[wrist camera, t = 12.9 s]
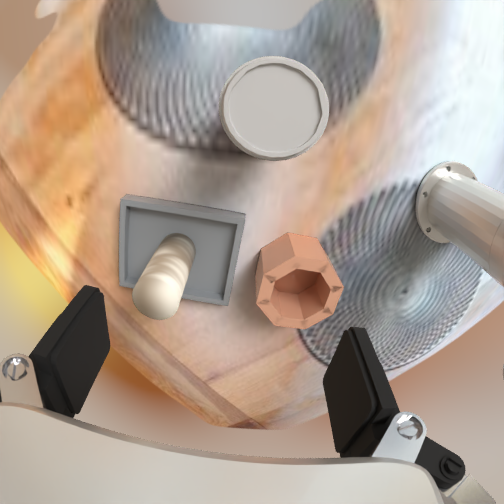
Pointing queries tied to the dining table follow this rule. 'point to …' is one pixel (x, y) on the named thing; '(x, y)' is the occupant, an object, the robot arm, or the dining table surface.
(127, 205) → the tray
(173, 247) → the peg
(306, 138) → the disposable coffee cup
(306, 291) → the terracotta octagonal pot
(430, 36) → the dining table surface
